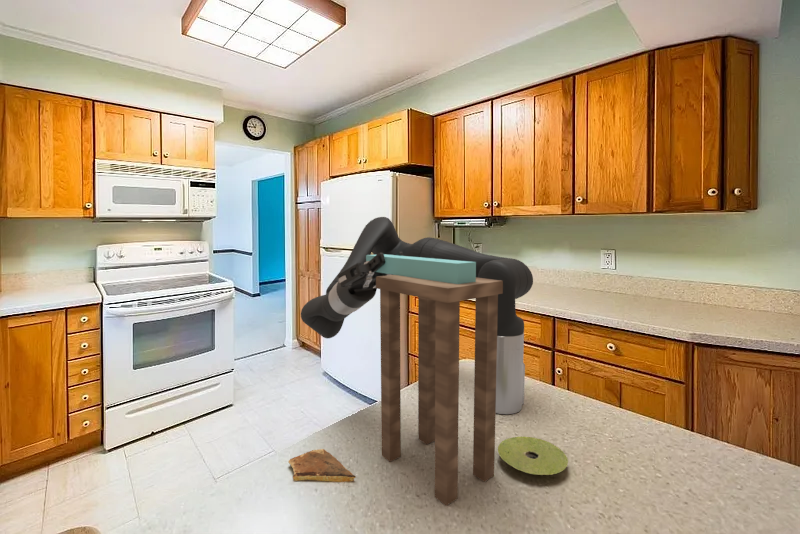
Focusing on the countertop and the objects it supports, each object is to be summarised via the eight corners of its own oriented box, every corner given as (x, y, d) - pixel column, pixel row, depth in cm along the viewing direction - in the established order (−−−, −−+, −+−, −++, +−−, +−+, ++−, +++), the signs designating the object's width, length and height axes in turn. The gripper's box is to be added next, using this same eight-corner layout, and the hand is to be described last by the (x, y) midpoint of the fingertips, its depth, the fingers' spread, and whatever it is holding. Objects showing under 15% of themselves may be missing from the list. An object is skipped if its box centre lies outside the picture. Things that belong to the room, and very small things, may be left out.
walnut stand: (427, 433, 76) (428, 271, 73) (498, 476, 63) (502, 280, 60) (377, 455, 69) (375, 276, 66) (446, 509, 55) (447, 288, 52)
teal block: (383, 269, 77) (382, 254, 77) (475, 281, 59) (475, 262, 58) (366, 270, 75) (366, 255, 75) (457, 284, 56) (457, 263, 56)
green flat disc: (490, 446, 71) (490, 436, 71) (550, 445, 72) (551, 435, 72) (508, 486, 60) (509, 474, 60) (580, 485, 61) (580, 473, 60)
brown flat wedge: (356, 485, 62) (355, 474, 61) (312, 507, 57) (311, 495, 57) (323, 454, 70) (323, 444, 70) (282, 471, 65) (282, 461, 65)
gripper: (317, 279, 81) (354, 239, 68) (373, 274, 89) (415, 238, 77) (326, 313, 78) (366, 278, 66) (383, 304, 87) (428, 272, 75)
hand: (392, 256), depth 71 cm, fingers closed on teal block, 4 cm apart
